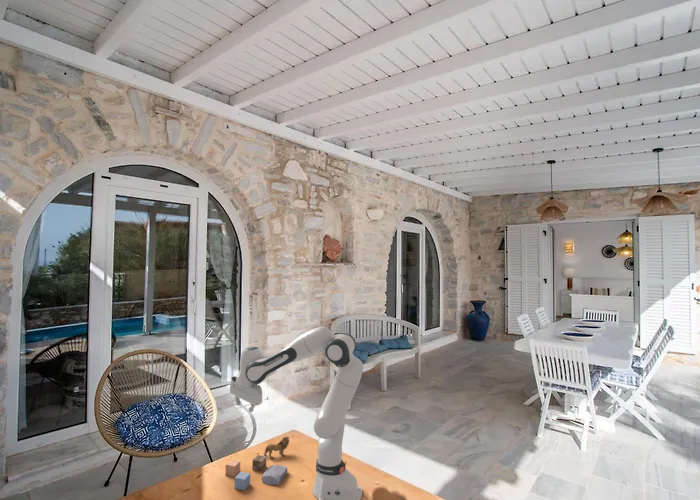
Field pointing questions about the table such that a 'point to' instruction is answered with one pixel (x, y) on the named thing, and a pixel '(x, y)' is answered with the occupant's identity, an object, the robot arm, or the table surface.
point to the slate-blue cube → (242, 481)
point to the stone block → (274, 474)
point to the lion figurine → (277, 446)
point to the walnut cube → (259, 463)
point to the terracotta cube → (232, 468)
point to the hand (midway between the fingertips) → (244, 408)
